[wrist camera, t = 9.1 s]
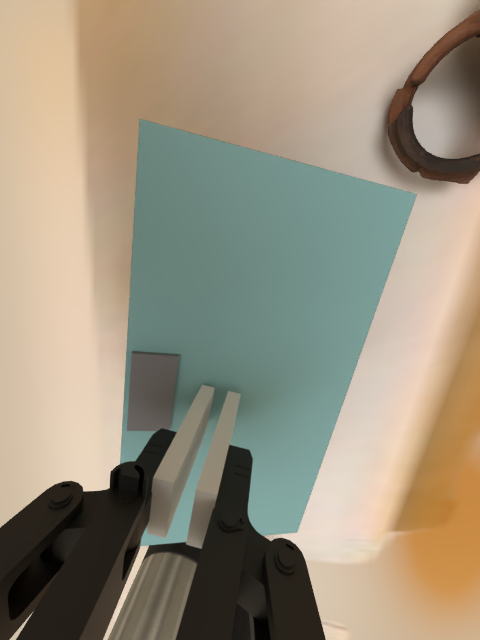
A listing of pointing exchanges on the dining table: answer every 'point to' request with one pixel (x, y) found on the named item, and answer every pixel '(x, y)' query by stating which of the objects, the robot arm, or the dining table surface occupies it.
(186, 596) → the milk frother
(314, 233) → the lid
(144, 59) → the dining table surface
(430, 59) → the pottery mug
